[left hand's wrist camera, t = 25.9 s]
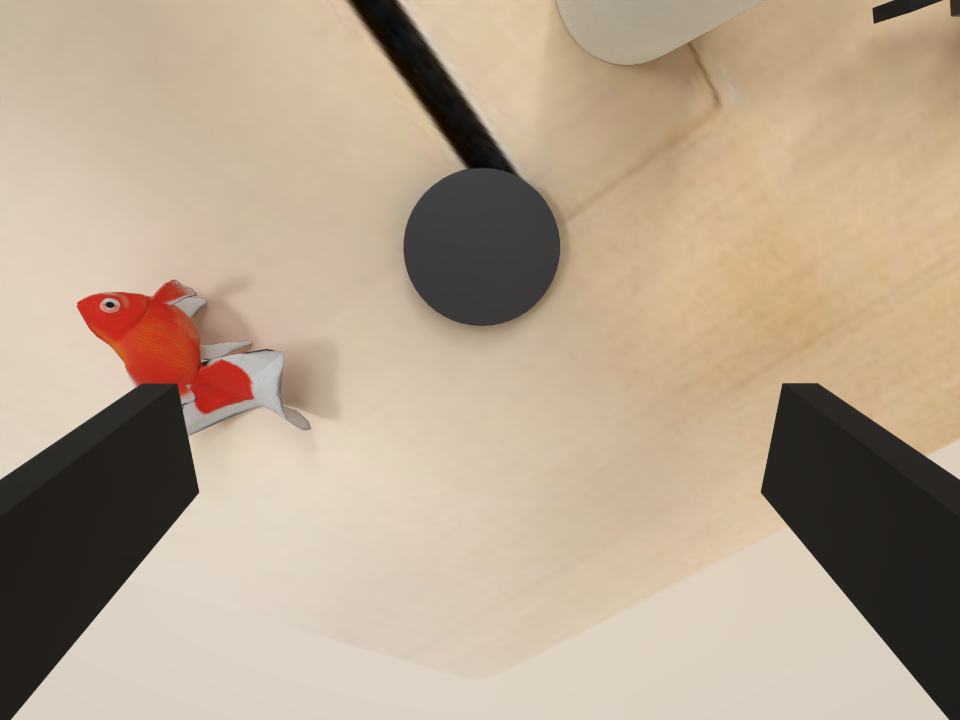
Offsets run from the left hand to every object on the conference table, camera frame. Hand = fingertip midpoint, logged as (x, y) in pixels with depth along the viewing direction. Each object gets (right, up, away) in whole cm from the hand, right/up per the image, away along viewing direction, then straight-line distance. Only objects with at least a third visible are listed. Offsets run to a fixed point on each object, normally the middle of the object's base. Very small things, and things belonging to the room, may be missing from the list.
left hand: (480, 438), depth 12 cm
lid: (0, +9, +25) cm, 27 cm away
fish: (-18, +3, +29) cm, 34 cm away
